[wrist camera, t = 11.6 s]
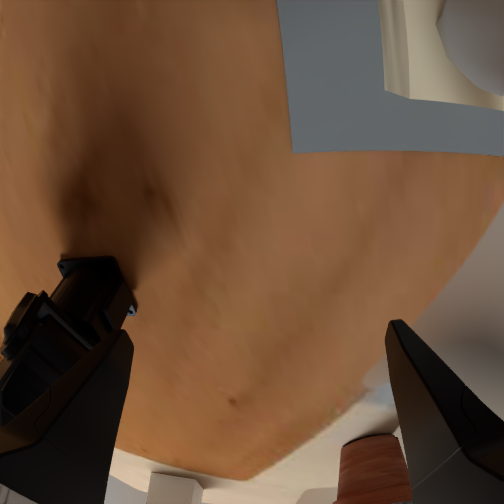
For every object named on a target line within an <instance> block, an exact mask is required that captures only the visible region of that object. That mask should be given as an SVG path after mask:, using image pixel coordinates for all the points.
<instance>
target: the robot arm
mask: <svg viewBox="0 0 504 504" xmlns="http://www.w3.org/2000/svg"><path fill="white" fill-rule="evenodd" d="M110 262H111V263H110ZM57 266H58V268H59V270H60V272H61V274H62V276H63V279H62V280H61V282H60V283H59V284H58V286H57V287H56V289H55V290H54V291H53V293H52V294H51V296H50V297H48V294H47V293H46V292H45V291H44V290H43V291H41V292H40V293H39V294H38V295H36V294H33V293H30V292H27V293H26V294H25V295H24V297H23V298H22V299H21V301H20V302H19V304H18V305H17V306H16V308H15V309H14V311H13V313H12V314H11V316H10V318H9V320H8V322H7V323H6V325H5V327H4V336H5V337H4V340H3V344H2V347H1V350H0V353H1V354H2V355H3V356H4V358H3V360H2V362H1V363H0V504H104V500H105V494H106V488H107V481H108V476H109V471H110V466H111V461H112V456H113V451H114V446H115V441H116V437H117V432H118V428H119V423H120V419H121V415H122V411H123V406H124V402H125V398H126V394H127V390H128V386H129V380H130V373H131V366H132V359H133V353H134V345H133V343H132V341H131V339H130V337H129V335H128V333H127V332H126V330H124V329H121V327H122V324H123V322H124V320H125V318H126V316H134V315H135V314H136V312H137V309H136V307H135V305H134V302H133V299H132V297H131V295H130V292H129V290H128V288H127V285H126V283H125V281H124V279H123V277H122V274H121V272H120V269H119V267H118V264H117V262H116V260H115V259H114V258H113V257H111V256H104V257H89V258H75V259H61V260H60V261H59V262H58V263H57ZM385 346H386V353H387V360H388V368H389V376H390V383H391V388H392V392H393V397H394V401H395V405H396V410H397V414H398V419H399V424H400V428H401V433H402V439H403V444H404V449H405V454H406V460H407V466H408V472H409V478H410V485H411V489H412V490H411V492H412V500H413V504H504V421H503V420H501V418H499V417H498V416H497V415H496V414H495V413H494V412H492V411H491V410H490V409H489V408H488V407H487V406H486V405H485V404H484V403H483V402H482V401H481V400H480V399H478V397H477V396H476V395H475V394H474V393H473V392H472V391H471V390H470V389H469V388H468V387H467V386H465V384H464V383H463V382H462V380H461V379H460V378H459V377H458V376H457V375H456V374H455V373H454V372H453V371H452V370H451V369H450V368H449V367H448V366H447V365H446V364H445V363H444V361H443V360H442V359H441V358H440V357H439V356H438V355H437V354H436V353H435V352H434V351H433V350H432V349H431V348H430V347H429V346H428V345H427V344H426V343H425V342H424V341H423V340H422V339H421V338H420V337H419V336H418V335H417V334H416V333H415V332H414V331H413V330H412V329H411V328H410V327H409V326H408V325H407V324H406V323H405V322H404V321H403V320H401V319H397V320H391V321H390V322H389V324H388V328H387V332H386V336H385Z"/></svg>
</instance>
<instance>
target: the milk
mask: <svg viewBox="0 0 504 504" xmlns="http://www.w3.org/2000/svg"><path fill="white" fill-rule="evenodd" d="M203 490H204V489H203V488H202V487H201V486H200V485H199V483H198V482H197V481H196V480H195V479H189V478H182V477H176V476H170V475H164V474H158V473H153V472H151V477H150V483H149V489H148V496H147V503H146V504H201V501H202V495H203Z"/></svg>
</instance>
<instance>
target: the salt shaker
mask: <svg viewBox="0 0 504 504" xmlns="http://www.w3.org/2000/svg"><path fill="white" fill-rule="evenodd" d="M436 27H437V30H438V33H439V36H440V38H441V41H442V44H443V47H444V50H445V53H446V56H447V58H448V59H449V60H450V61H451V62H452V63H453V64H454V65H455V67H456V68H457V69H458V70H459V71H461V72H462V73H463V74H464V75H465V76H466V77H467V78H468V79H469V80H470V81H471V82H472V83H473V84H474V85H475V86H477V87H479V88H480V89H483V90H486V91H488V92H491V93H494V94H496V95H499V96H504V0H445V2H444V6H443V10H442V14H441V17H440V19H439V20H438V22H437V24H436Z"/></svg>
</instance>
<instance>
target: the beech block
mask: <svg viewBox="0 0 504 504" xmlns="http://www.w3.org/2000/svg"><path fill="white" fill-rule="evenodd" d="M444 2H445V0H378V8H379V16H380V26H381V36H382V49H383V64H384V87H385V90H386V91H389V92H392V93H395V94H398V95H400V96H403V97H406V98H409V99H418V100H429V101H440V102H448V103H457V104H464V105H471V106H478V107H484V108H490V109H495V110H501V111H504V96H499V95H496V94H494V93H491V92H488V91H486V90H483V89H480V88H479V87H477V86H475V85H474V84H473V83H472V82H471V81H470V80H469V79H468V78H467V77H466V76H465V75H464V74H463V73H462V72H461V71H459V70H458V69H457V68H456V67H455V65H454V64H453V63H452V62H451V61H450V60H449V59H448V58H447V56H446V53H445V50H444V47H443V44H442V41H441V38H440V36H439V33H438V30H437V27H436V24H437V22H438V20H439V19H440V17H441V14H442V10H443V6H444Z"/></svg>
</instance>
